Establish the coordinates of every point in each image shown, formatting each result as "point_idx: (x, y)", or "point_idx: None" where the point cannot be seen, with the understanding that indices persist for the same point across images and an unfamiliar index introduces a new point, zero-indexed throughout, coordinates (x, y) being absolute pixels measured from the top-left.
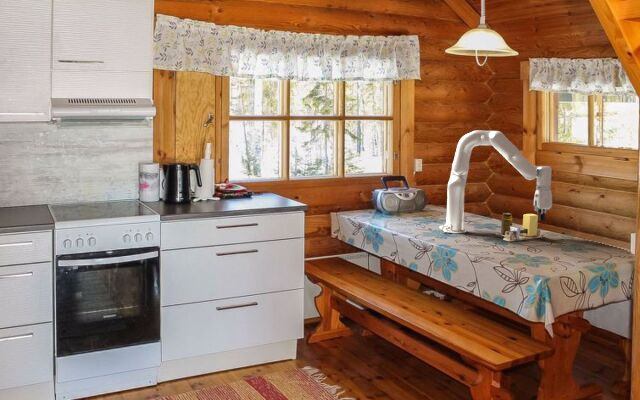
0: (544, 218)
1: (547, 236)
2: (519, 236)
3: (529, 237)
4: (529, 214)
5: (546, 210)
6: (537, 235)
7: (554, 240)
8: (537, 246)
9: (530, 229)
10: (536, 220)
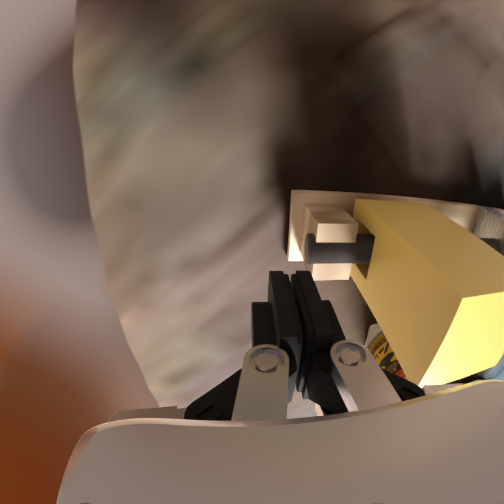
0: (277, 287)
1: (219, 197)
2: (488, 210)
3: (413, 201)
4: (475, 355)
5: (213, 403)
6: (335, 205)
7: (289, 61)
8: (493, 49)
9: (445, 221)
10: (439, 256)
